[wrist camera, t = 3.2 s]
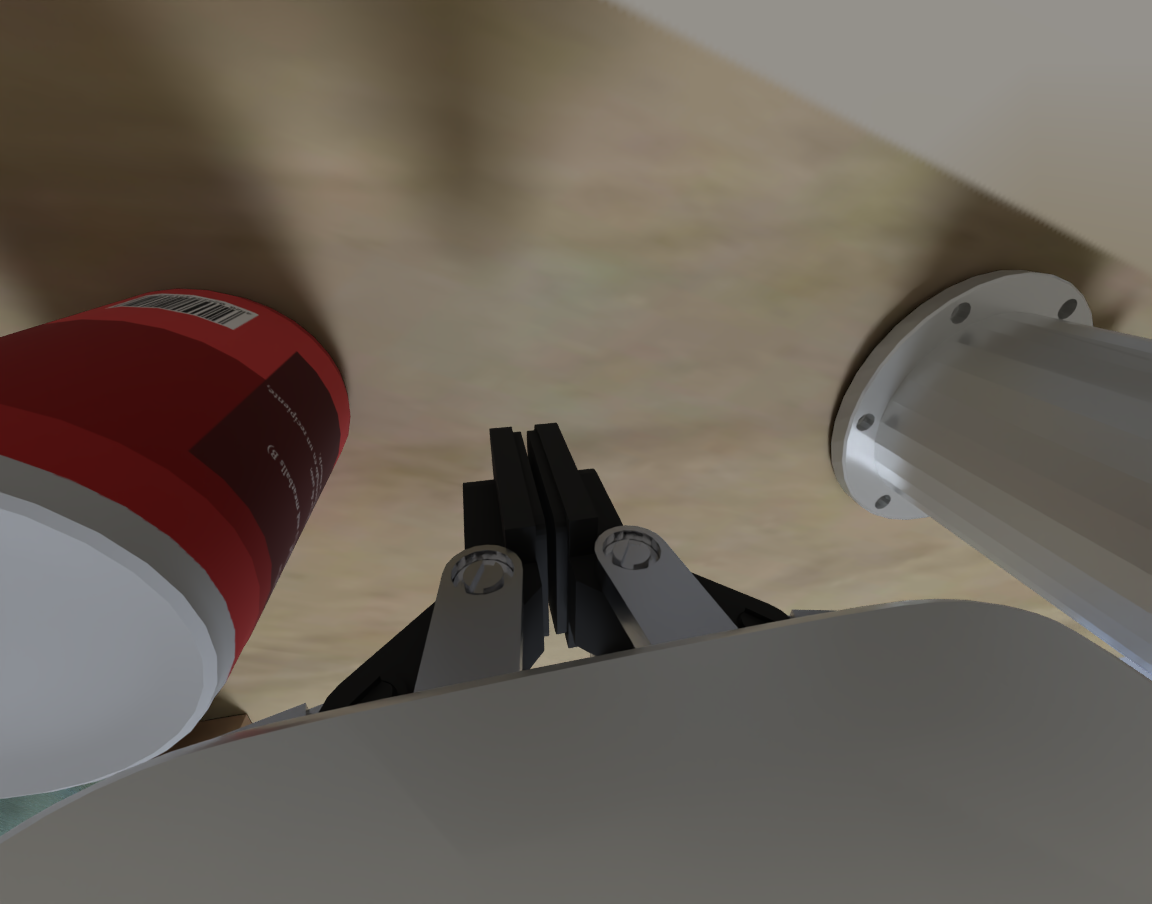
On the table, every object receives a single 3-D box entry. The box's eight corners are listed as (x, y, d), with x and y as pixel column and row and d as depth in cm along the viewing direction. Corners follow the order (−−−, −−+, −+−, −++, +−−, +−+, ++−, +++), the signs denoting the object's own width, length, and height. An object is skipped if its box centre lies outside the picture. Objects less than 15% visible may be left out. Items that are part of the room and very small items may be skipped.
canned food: (33, 359, 15) (-747, 658, 5) (240, 232, 14) (-221, 317, 5) (231, 519, 19) (-16, 853, 9) (399, 425, 18) (319, 679, 9)
